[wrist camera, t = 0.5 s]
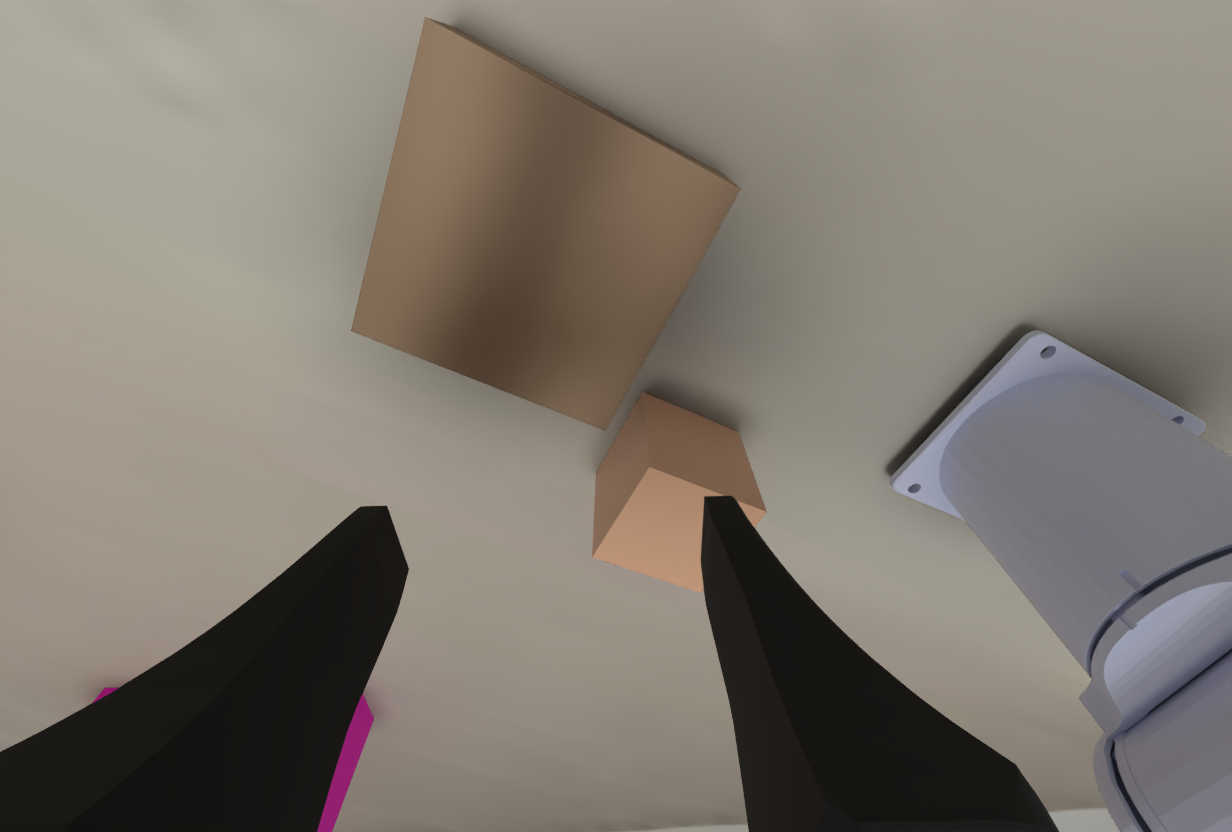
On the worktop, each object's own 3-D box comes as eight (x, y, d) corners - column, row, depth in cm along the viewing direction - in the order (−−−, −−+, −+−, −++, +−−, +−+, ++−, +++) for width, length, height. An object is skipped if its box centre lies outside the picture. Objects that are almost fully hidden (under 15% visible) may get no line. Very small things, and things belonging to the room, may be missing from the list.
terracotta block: (738, 431, 23) (766, 511, 18) (685, 505, 25) (700, 592, 21) (642, 391, 22) (649, 467, 17) (596, 471, 24) (592, 556, 19)
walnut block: (721, 173, 18) (740, 188, 15) (605, 390, 22) (605, 430, 19) (455, 27, 16) (425, 17, 13) (384, 298, 20) (351, 331, 17)
